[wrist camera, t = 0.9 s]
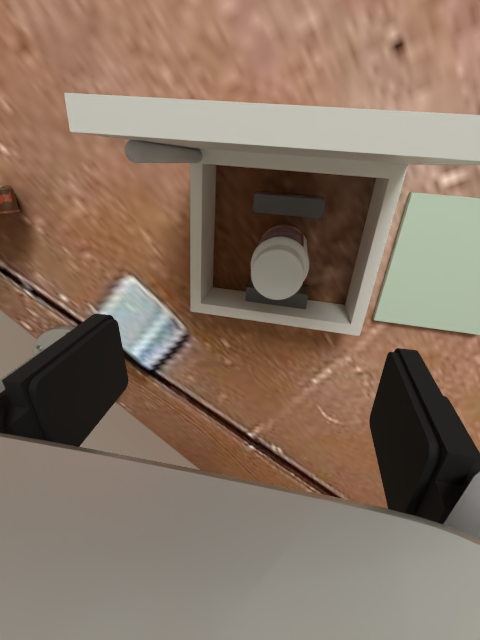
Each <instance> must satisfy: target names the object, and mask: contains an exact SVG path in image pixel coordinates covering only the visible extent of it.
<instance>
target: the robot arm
mask: <svg viewBox="0 0 480 640" xmlns="http://www.w3.org/2000/svg"><path fill="white" fill-rule="evenodd" d="M127 384H128V376H127V370H126V365H125V359H124V354H123V348H122V343H121V337H120V332H119V326H118V322H117V321H116V320H114V318H113V317H112V316H111V315H102V314H94V315H92V316H91V317H89V318H88V319H87V320H85V321H84V322H82V323H81V324H80V325H78V326H77V327H71V326H59V327H54V328H52V329H50V330H48V331H46V332H45V333H43V334H42V335H41V336H40V337H39V338H38V339H37V340H36V342H35V344H34V349H33V357H31V358H30V359H28V360H27V361H26V362H24V363H23V364H21V365H20V366H18V367H17V368H16V369H14V370H13V371H11V372H10V373H9V374H7V375H6V376H4V377H3V378H2V379H0V640H480V453H479V451H478V449H477V448H476V446H475V444H474V442H473V441H472V439H471V437H470V435H469V434H468V432H467V430H466V429H465V427H464V425H463V423H462V422H461V420H460V418H459V416H458V415H457V413H456V411H455V410H454V408H453V406H452V404H451V403H450V401H449V400H448V398H447V397H445V396H443V395H442V393H441V392H440V390H439V388H438V386H437V384H436V383H435V381H434V379H433V377H432V376H431V374H430V372H429V370H428V368H427V367H426V365H425V363H424V361H423V360H422V358H421V356H420V354H419V352H418V351H416V350H408V349H400V348H397V349H396V350H395V351H394V352H389V353H388V355H387V358H386V362H385V365H384V369H383V372H382V376H381V379H380V383H379V386H378V390H377V393H376V397H375V401H374V404H373V408H372V411H371V415H370V429H371V434H372V438H373V442H374V447H375V451H376V456H377V460H378V465H379V469H380V474H381V478H382V483H383V487H384V491H385V496H386V500H387V505H388V509H386V508H382V507H378V506H373V505H368V504H364V503H359V502H354V501H350V500H345V499H341V498H336V497H331V496H327V495H322V494H318V493H313V492H308V491H303V490H298V489H293V488H288V487H283V486H278V485H273V484H268V483H263V482H258V481H253V480H248V479H243V478H238V477H233V476H228V475H222V474H217V473H212V472H207V471H202V470H197V469H191V468H187V467H181V466H176V465H171V464H166V463H161V462H156V461H150V460H145V459H140V458H135V457H129V456H124V455H119V454H114V453H108V452H103V451H97V450H93V449H87V448H81V447H79V446H80V445H81V444H82V442H83V441H84V440H85V438H86V437H87V436H88V435H89V434H90V432H91V431H92V430H93V429H94V427H95V426H96V425H97V424H98V423H99V421H100V420H101V419H102V418H103V416H104V415H105V414H106V412H107V411H108V410H109V409H110V408H111V406H112V405H113V404H114V403H115V401H116V400H117V399H118V398H119V396H120V395H121V394H122V393H123V391H124V390H125V389H126V387H127Z"/></svg>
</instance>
